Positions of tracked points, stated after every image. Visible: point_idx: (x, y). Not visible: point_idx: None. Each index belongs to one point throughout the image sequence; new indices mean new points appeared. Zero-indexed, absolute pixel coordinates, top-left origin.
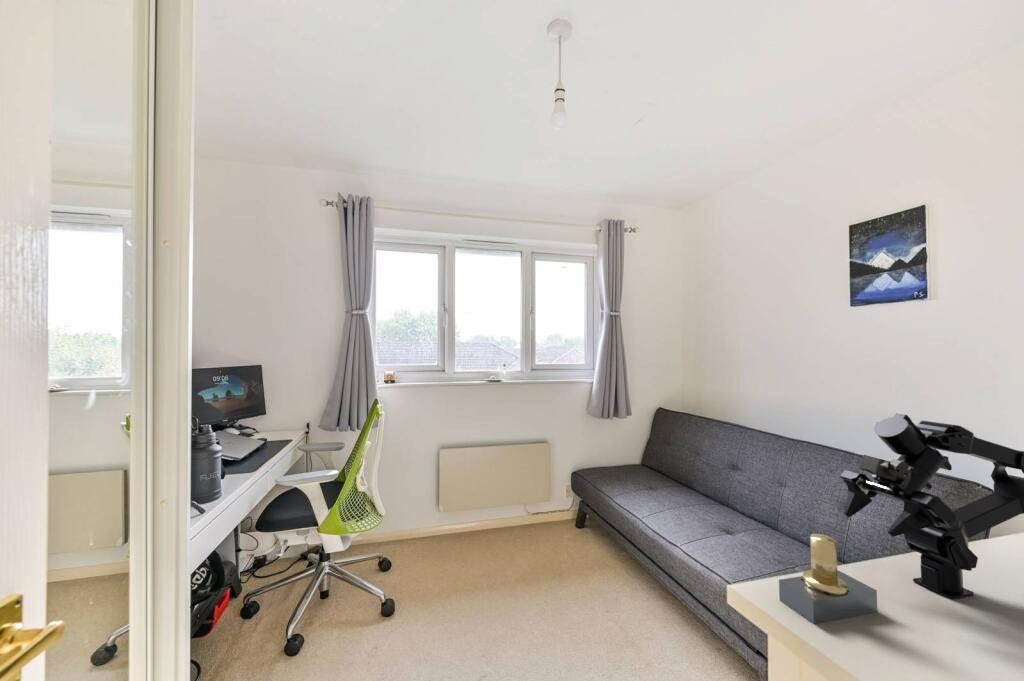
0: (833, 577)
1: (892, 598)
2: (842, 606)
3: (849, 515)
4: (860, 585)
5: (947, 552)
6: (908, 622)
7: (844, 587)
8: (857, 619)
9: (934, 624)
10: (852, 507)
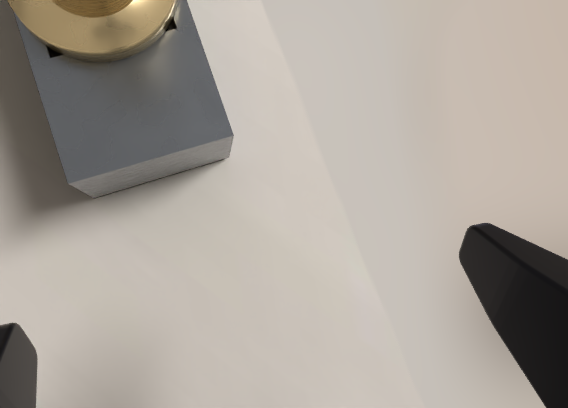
0: None
1: (199, 331)
2: None
3: (471, 267)
4: (105, 140)
5: None
6: (42, 270)
7: (26, 12)
8: None
9: None
10: (544, 315)
